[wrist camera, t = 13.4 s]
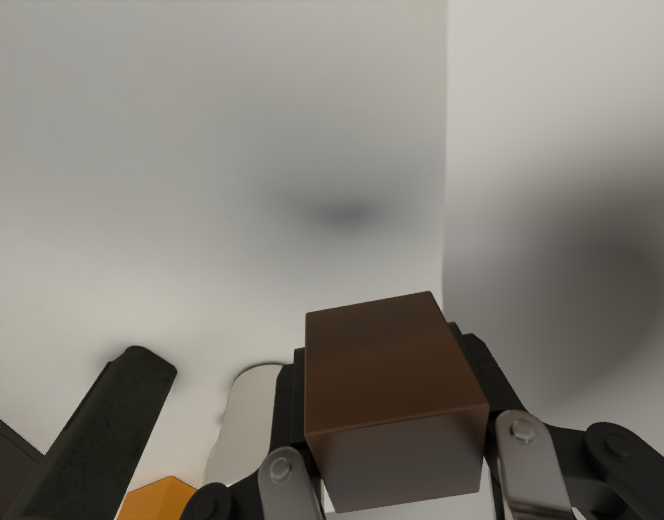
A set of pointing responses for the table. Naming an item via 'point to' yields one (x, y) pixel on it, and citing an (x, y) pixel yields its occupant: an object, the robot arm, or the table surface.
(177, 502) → the orange juice
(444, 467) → the block
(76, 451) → the candle
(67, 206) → the table surface
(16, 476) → the fryer
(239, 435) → the mug
